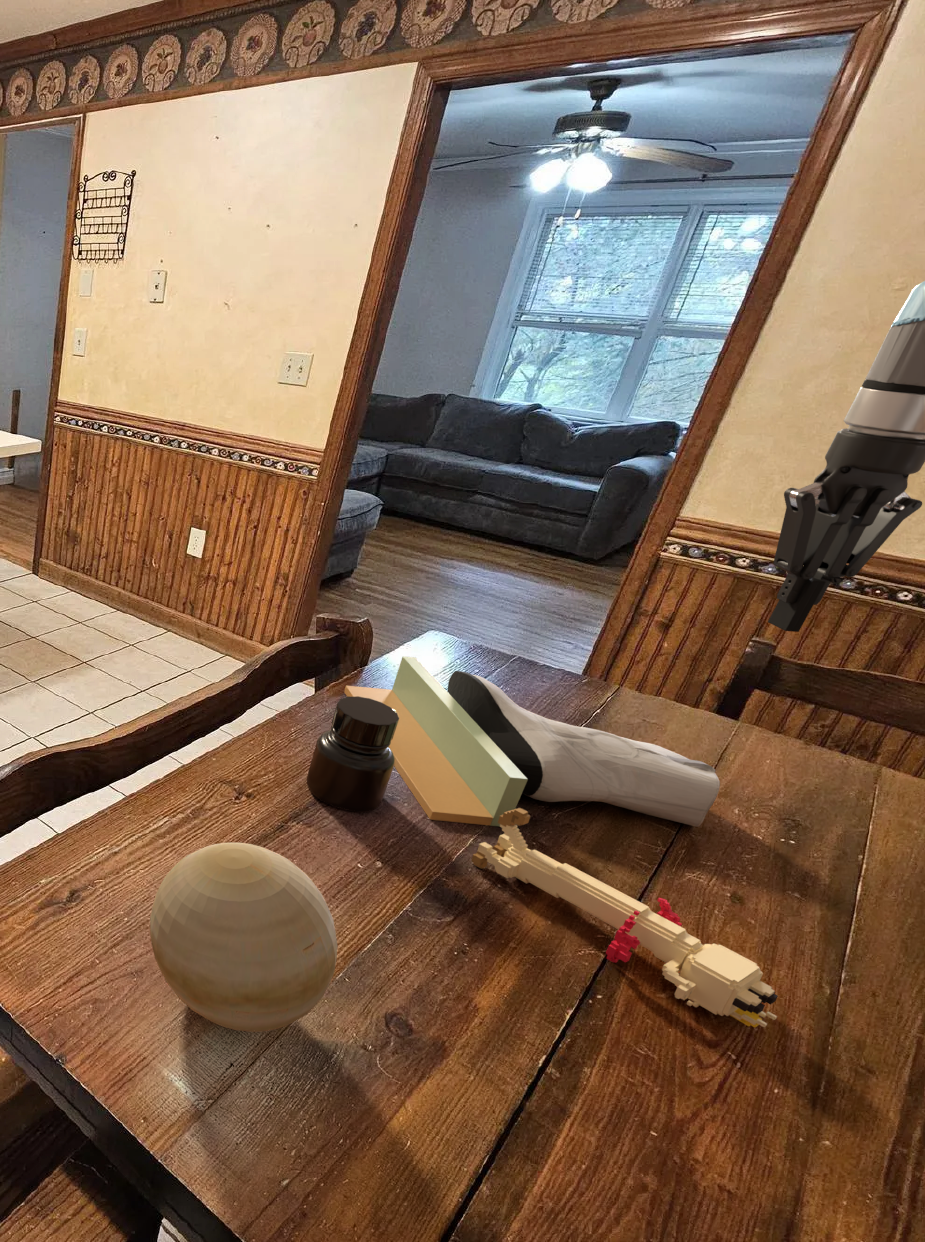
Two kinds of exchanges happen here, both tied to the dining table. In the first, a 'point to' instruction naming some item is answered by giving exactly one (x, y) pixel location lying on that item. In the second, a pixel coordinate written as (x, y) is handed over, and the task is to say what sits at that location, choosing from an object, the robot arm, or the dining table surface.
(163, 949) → the decorative ball
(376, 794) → the ink bottle
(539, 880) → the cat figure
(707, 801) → the grey boot
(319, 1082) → the dining table surface
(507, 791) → the wall shelf
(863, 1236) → the dining table surface
